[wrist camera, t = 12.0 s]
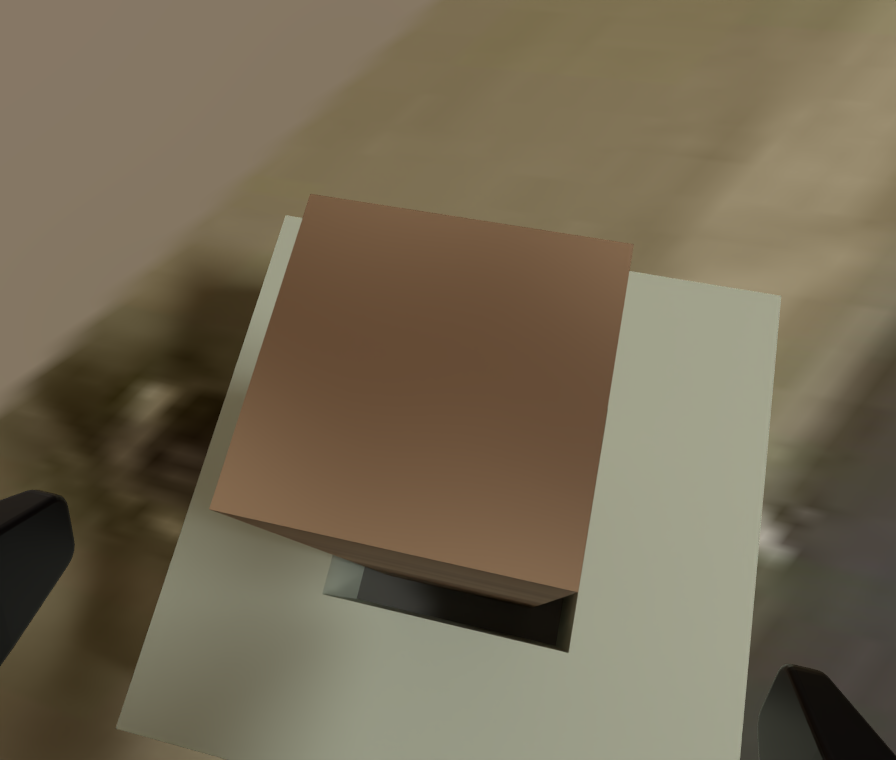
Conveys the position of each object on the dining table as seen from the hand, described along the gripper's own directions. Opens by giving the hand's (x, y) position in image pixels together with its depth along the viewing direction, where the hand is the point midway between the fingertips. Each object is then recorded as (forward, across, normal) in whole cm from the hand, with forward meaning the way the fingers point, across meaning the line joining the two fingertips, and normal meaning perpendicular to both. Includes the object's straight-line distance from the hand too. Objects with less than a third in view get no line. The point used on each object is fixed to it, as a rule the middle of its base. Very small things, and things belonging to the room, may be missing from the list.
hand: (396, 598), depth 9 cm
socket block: (+11, 0, +7) cm, 13 cm away
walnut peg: (+10, 0, +6) cm, 12 cm away
